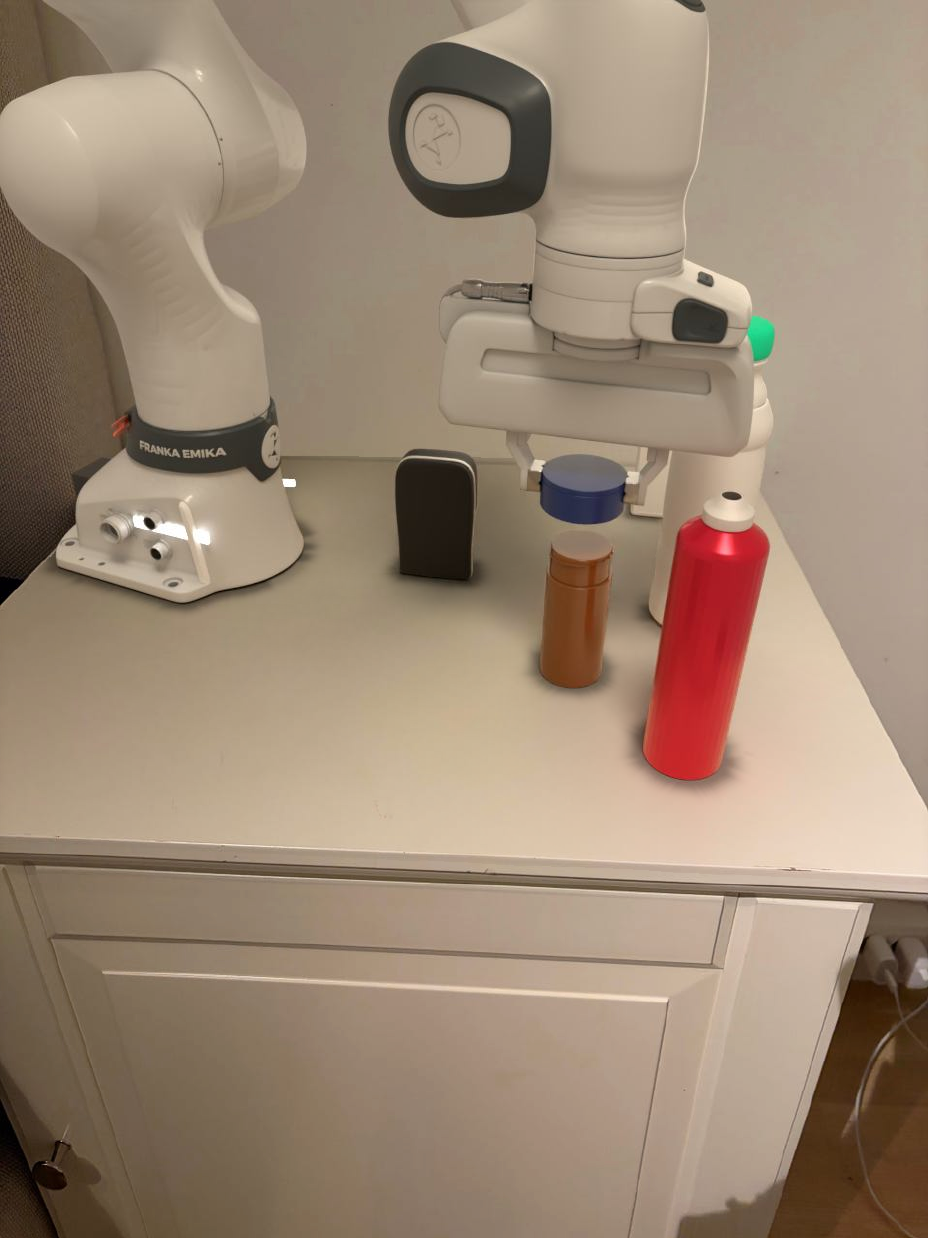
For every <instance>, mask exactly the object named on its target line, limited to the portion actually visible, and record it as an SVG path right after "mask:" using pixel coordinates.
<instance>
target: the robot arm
mask: <svg viewBox="0 0 928 1238" xmlns="http://www.w3.org/2000/svg"><path fill="white" fill-rule="evenodd" d="M42 2H43V3H45V5H48V6H49V7H50V8H52V9H54V10H55V11H57V12H58V13H60V14H61V15H63V16H64V17H66V18H67V19H69V20H70V21H71V22H73V23H74V24H75V25H76V26H77V27H78V28H79V29H80V30H81V31H82V32H83V33H84V35H86V36H87V37H88V39H89V40H90V41H91V43H93V45H94V46H95V47H96V48H97V50H98V51H99V53H100V54H101V56H102V57H103V59H104V60H105V62H106V63H107V65H108V67H109V68H110V70H111V72H112V73H100V74H99V73H98V74H87V75H75V76H69V77H65V78H63V79H60V80H58V81H55V82H52V83H51V84H50V83H49V84H47V85H44V86H42V87H41V86H40V87H39V88H37V89H34V90H33V91H29V92H27V93H25V94H23V95H21V96H19V97H16V98H14V99H13V100H11V101H9V102H8V103H7V104H6V105H5V106H4V108H3V109H2V111H1V113H0V190H1V192H2V194H3V196H4V198H5V201H6V203H7V204H8V206H9V208H10V209H11V211H12V213H13V214H14V215H15V217H16V218H17V220H19V222H20V223H21V224H22V226H24V228H25V229H26V230H27V231H28V232H29V233H30V234H31V235H32V236H33V237H35V239H37V240H38V241H40V242H41V243H42V244H43V245H45V246H46V247H48V248H50V249H52V250H53V251H56V252H58V253H59V254H61V255H63V256H64V258H65V257H66V258H67V259H68V260H69V261H71V262H72V263H73V264H74V265H76V267H78V268H79V269H80V271H82V272H83V273H84V275H86V277H87V279H89V280H90V282H91V283H92V285H94V287H95V289H96V290H97V291H98V293H99V295H100V296H101V298H102V300H103V301H104V303H105V305H106V306H107V308H108V310H109V313H110V314H111V317H112V318H113V321H114V325H115V326H116V329H117V332H118V335H119V339H120V342H121V346H122V350H123V354H124V358H125V361H126V367H127V370H128V375H129V379H130V384H131V387H132V393H133V398H134V402H135V405H133V406H131V407H129V408H128V409H127V410H125V411H124V412H123V416H122V417H121V418H119V419H118V420H116V421H115V422H114V423H112V424H111V425H110V427H111V428H112V429H113V428H115V430H114V431H113V434H112V437H114V438H118V436H120V435H122V434H123V433H124V432H126V431H127V438H126V444H125V447H124V448H123V449H122V450H120V451H119V452H118V453H117V454H116V455H115V456H113V457H112V458H108V457H103V456H102V457H100V458H98V459H96V460H94V461H92V462H90V463H89V464H87V465H85V466H83V467H81V468H80V469H78V470H76V471H74V472H72V473H71V474H70V475H71V479H72V484H73V487H74V492H75V496H76V502H75V524H74V525H73V526H72V527H70V529H69V530H68V531H67V532H66V533H65V534H64V536H63V537H62V538H61V539H60V541H59V543H58V545H57V547H56V550H55V560H56V565H57V566H58V567H59V568H62V569H65V570H68V571H71V572H73V573H78V574H81V575H84V576H87V577H91V578H94V579H98V580H102V581H104V582H108V583H110V584H114V585H118V586H121V587H124V588H127V589H131V590H134V591H137V592H141V593H144V594H148V595H150V596H154V597H157V598H161V599H164V600H167V601H171V602H173V603H180V604H181V603H183V604H184V603H189V602H193V601H196V600H199V599H202V598H204V597H206V596H208V595H211V594H213V593H216V592H219V591H224V590H230V589H234V588H240V587H245V586H249V585H253V584H255V583H259V582H262V581H265V580H267V579H270V578H272V577H274V576H275V575H278V574H280V573H282V572H283V571H285V570H286V569H288V568H289V567H290V566H292V565H293V564H294V563H295V562H296V561H297V560H298V559H299V557H300V556H301V554H302V552H303V550H304V548H305V547H304V545H305V539H304V536H303V534H302V532H301V530H300V528H299V525H298V522H297V521H296V518H295V516H294V513H293V510H292V508H291V503H290V500H289V497H288V494H287V491H286V487H289V488H291V487H292V488H294V487H296V480H295V479H289V478H283V473H282V468H281V464H282V443H281V433H280V429H279V422H278V415H277V413H278V412H277V407H276V402H275V400H274V399H273V397H272V396H270V388H269V387H270V386H269V380H268V379H269V378H268V370H267V362H266V361H267V360H266V353H265V344H264V335H263V328H262V327H263V326H262V320H261V317H260V315H259V312H258V311H257V308H256V307H255V306H254V304H253V303H252V302H251V301H250V300H249V299H248V298H247V297H246V296H244V295H243V294H242V293H241V292H239V291H238V290H235V289H234V288H232V287H230V286H228V285H226V284H224V283H221V281H220V280H219V279H218V277H217V274H216V273H215V271H214V269H213V267H212V264H211V261H210V259H209V255H208V253H207V248H206V245H205V240H204V237H205V235H204V233H205V231H209V230H212V229H216V228H220V227H223V226H227V225H230V224H235V223H238V222H242V221H246V220H249V219H252V218H255V217H256V216H258V215H260V214H262V213H263V212H265V211H266V210H268V209H270V208H271V207H273V206H274V205H276V204H277V203H279V202H280V201H282V200H283V199H284V198H286V197H287V196H289V195H290V194H291V193H292V192H293V191H294V190H295V189H296V187H297V186H298V185H299V184H300V181H301V179H302V177H303V174H304V171H305V167H306V162H307V153H308V152H307V151H308V148H307V135H306V131H305V125H304V123H303V120H302V117H301V114H300V112H299V110H298V107H297V105H296V104H295V102H294V101H293V98H292V97H291V96H290V95H289V93H288V92H287V91H286V89H285V88H283V86H282V85H280V84H279V82H277V81H276V80H275V79H274V78H272V77H271V76H269V75H268V74H267V73H266V72H265V71H264V70H263V69H262V68H260V66H258V65H257V64H256V62H255V61H254V59H252V58H251V56H250V55H249V54H248V53H247V51H246V50H245V49H244V47H243V46H242V45H241V43H240V42H239V41H238V39H237V38H236V36H235V35H234V33H233V32H232V29H231V28H230V26H229V25H228V23H227V22H226V20H225V19H224V17H223V15H222V14H221V11H220V10H219V9H218V6H217V5H216V3H215V1H214V0H42ZM450 2H451V4H452V7H453V8H454V10H455V12H456V14H457V17H458V18H459V20H460V22H461V24H462V26H463V28H464V30H465V31H464V32H461V33H458V34H456V35H451V36H449V37H446V38H443V39H441V40H438V41H435V42H434V43H431V44H429V45H426V46H424V47H423V48H421V49H420V50H418V51H417V52H416V53H415V54H413V55H412V56H411V58H409V60H407V62H406V63H405V65H404V66H403V67H402V68H401V69H402V70H401V71H400V73H399V75H398V76H397V79H396V81H395V83H394V86H393V89H392V93H391V97H390V101H389V107H388V118H387V128H388V129H387V130H388V131H387V133H388V139H389V148H390V152H391V156H392V159H393V162H394V165H395V167H396V170H397V172H398V175H399V178H401V180H402V182H403V183H404V185H405V187H406V188H407V190H408V191H409V192H410V194H411V195H412V196H413V197H414V198H415V199H416V200H417V202H419V203H420V205H422V206H423V207H424V208H426V209H427V210H428V211H430V212H432V213H434V214H436V215H439V216H441V217H445V218H453V219H461V220H462V219H463V220H480V219H486V218H490V217H494V216H495V217H496V216H503V215H509V214H524V215H526V216H528V217H530V218H531V220H532V221H533V223H534V227H535V228H534V230H535V237H534V250H533V251H534V253H533V267H532V268H533V269H532V283H529V282H515V281H496V282H495V281H486V280H484V279H481V278H465V279H463V280H462V282H461V284H456V285H453V286H451V287H450V288H448V289H447V290H446V291H445V292H444V294H443V295H442V297H441V299H440V301H439V305H438V329H439V334H440V337H441V339H442V341H443V342H444V344H445V347H444V348H445V349H444V353H443V356H442V357H443V358H442V364H441V371H440V378H439V380H440V381H439V387H438V410H439V412H440V413H441V415H442V416H443V418H445V420H446V421H447V423H449V424H450V425H455V426H462V427H464V426H465V427H472V428H480V429H481V428H482V429H489V430H495V431H496V430H498V431H505V432H506V437H505V446H506V447H507V449H508V451H509V454H510V455H511V457H512V458H513V460H514V462H515V463H516V466H517V468H518V469H520V475H519V490H520V491H525V492H533V493H534V492H535V493H541V480H542V471H543V466H545V464H546V463H547V460H542V459H536V458H535V456H534V454H533V452H532V450H531V448H530V446H529V443H528V442H529V440H530V438H531V435H539V436H547V437H555V438H565V439H573V440H580V441H588V442H597V443H605V444H613V445H614V444H615V445H622V446H623V445H624V446H631V447H637V448H638V447H647V448H648V451H647V459H646V460H647V461H648V462H647V464H646V465H645V466H644V467H643V468H642V470H641V471H640V472H635V471H631V470H628V471H627V477H628V478H626V482H625V489H624V491H625V494H624V496H623V503H624V505H631V504H632V505H640V506H644V503H645V498H646V492H647V486H648V485H649V484H650V483H651V482H652V481H653V480H654V479H655V478H656V476H657V475H658V474H659V473H660V472H661V471H662V470H663V469H664V467H665V466H666V465H667V462H668V456H669V450H672V451H680V452H688V453H697V454H705V455H713V456H721V457H733V456H735V455H736V454H738V453H739V452H740V451H741V450H742V449H744V448H745V447H746V446H747V444H748V441H749V437H750V431H751V424H752V415H753V401H754V359H753V349H752V345H751V342H750V339H749V337H748V335H747V332H748V329H749V326H750V322H751V317H752V316H753V302H752V298H751V295H750V293H749V290H748V289H747V287H746V286H745V285H744V284H742V283H741V282H739V281H736V280H734V279H732V278H729V277H727V276H725V275H722V274H721V273H718V272H715V271H713V270H711V269H708V268H706V267H704V266H701V265H699V264H697V263H694V262H692V261H690V260H688V259H686V258H685V252H686V246H687V235H688V234H687V225H686V219H685V218H686V217H685V216H686V215H685V205H686V197H687V194H688V190H689V188H690V184H691V182H692V179H693V177H694V175H695V173H696V170H697V167H698V165H699V159H700V153H701V145H702V138H703V129H704V123H705V115H706V114H705V113H706V104H707V94H708V93H707V92H708V82H709V63H710V30H709V29H710V28H709V18H708V14H707V10H706V9H707V8H706V7H705V5H704V3H703V1H702V0H450ZM459 292H460V293H461V294H456V293H459Z"/></svg>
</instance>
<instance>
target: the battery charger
mask: <svg viewBox="0 0 928 1238" xmlns="http://www.w3.org/2000/svg"><path fill="white" fill-rule="evenodd" d="M394 473H395V475H394V501H395V502H394V503H395V504H394V505H395V519H396V530H397V531H396V532H397V538H398V569H399V570H398V571H399V573H402V574H408V575H414V576H422V577H431V578H442V579H443V578H444V579H457V580H468V579H470V578H471V577H472V576H473V572H474V535H475V521H476V512H477V509H478V508H477V506H478V470H477V464H476V462H475V460H474V458H473V457H472V456H471V455H470V454H468V453H466V452H462V451H456V450H447V449H437V448H436V449H435V448H413V449H409V450H408V451H407V452H406V453H405V454H404V455H403V456H402V459H400V461H399V462H398V464H397V466H396V467H395V471H394Z"/></svg>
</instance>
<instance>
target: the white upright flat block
mask: <svg viewBox="0 0 928 1238" xmlns="http://www.w3.org/2000/svg"><path fill="white" fill-rule="evenodd" d="M647 451H648V448H647V447H638V446H637V454H636V462H635V469H634V472H640V471H641V470H642V468H643V467H644V466H645V465H646V464H647V462H648V461H647V460H646V459H647ZM671 456H672V450H669V456H668V462H667V465H666V466H665V467H664V469H663V470H662V471H661V472H660V473H659V474H658V475H657V476H656V478H655V479H654V480H653V481H652V482H651V483H650V484H649V485H648V486H647V492H646V498H645V503H644V506H640V505H632V504H630V510H629V511H630V514H631V515H633V516H638V517H650V518H661V519H663V507H664V499H665V492H666V485H667V478H668V472H669V466H670V461H671Z"/></svg>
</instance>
